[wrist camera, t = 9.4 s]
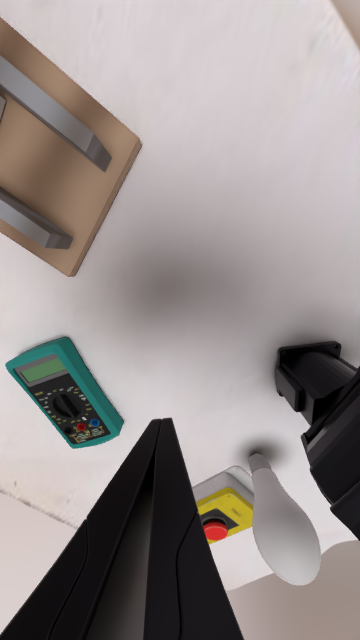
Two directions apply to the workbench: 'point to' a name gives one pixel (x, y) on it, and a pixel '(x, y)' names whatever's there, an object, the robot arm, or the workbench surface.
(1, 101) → the knob carriage
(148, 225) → the workbench surface
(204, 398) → the workbench surface
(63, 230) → the knob mount
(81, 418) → the digital multimeter
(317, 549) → the lightbulb
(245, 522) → the emergency button
